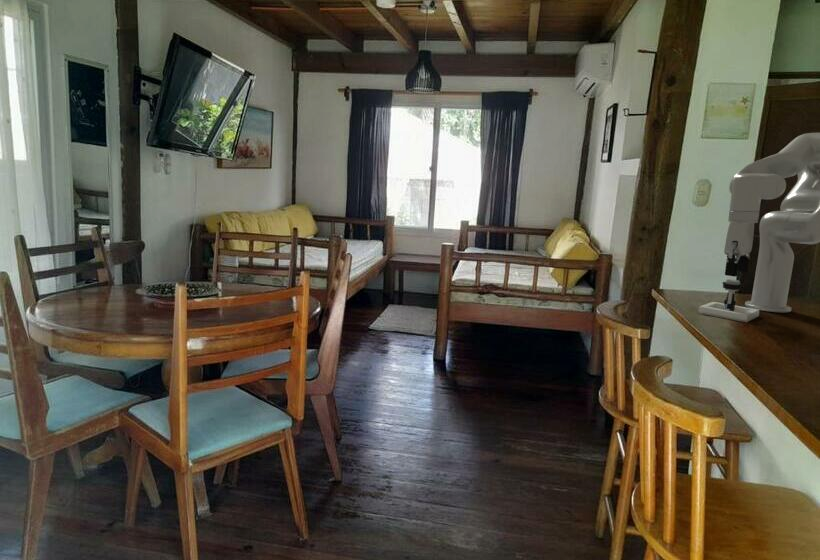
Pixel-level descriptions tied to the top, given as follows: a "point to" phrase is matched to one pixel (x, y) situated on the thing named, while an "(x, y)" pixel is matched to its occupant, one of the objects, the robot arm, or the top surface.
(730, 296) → the push button
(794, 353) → the top surface
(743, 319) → the socket plate
